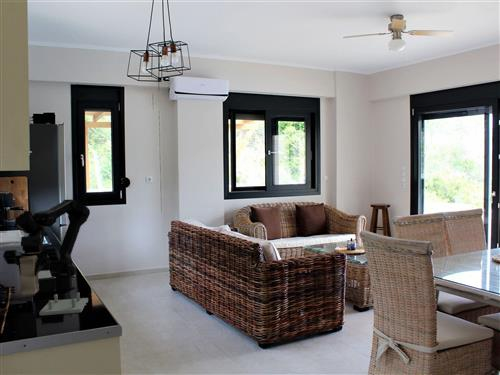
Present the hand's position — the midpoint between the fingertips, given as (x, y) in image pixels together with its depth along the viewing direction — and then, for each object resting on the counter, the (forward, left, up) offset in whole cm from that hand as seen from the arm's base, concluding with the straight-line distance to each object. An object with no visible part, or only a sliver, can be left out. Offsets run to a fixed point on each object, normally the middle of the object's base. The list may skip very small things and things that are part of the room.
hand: (28, 275), depth 172 cm
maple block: (-1, -1, -7) cm, 7 cm away
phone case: (-47, -32, -14) cm, 59 cm away
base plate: (-6, +10, -13) cm, 18 cm away
